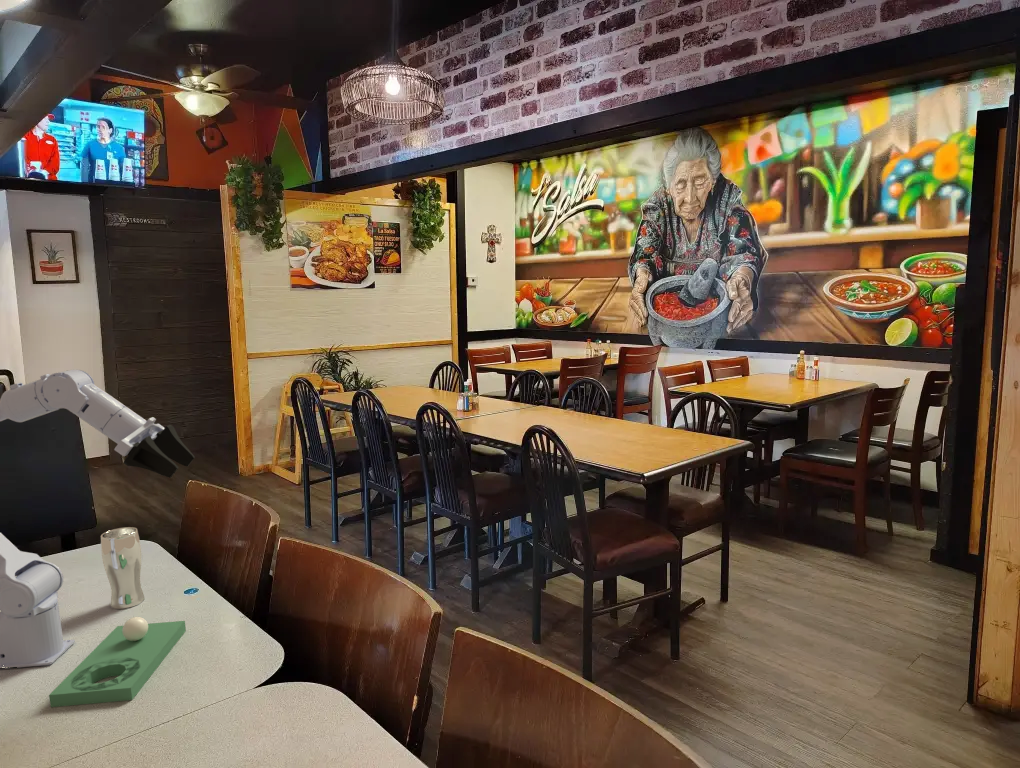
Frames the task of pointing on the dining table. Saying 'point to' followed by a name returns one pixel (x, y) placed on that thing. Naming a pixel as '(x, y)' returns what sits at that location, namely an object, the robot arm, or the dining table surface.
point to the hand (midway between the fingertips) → (183, 467)
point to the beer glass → (123, 566)
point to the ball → (135, 628)
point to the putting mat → (118, 666)
